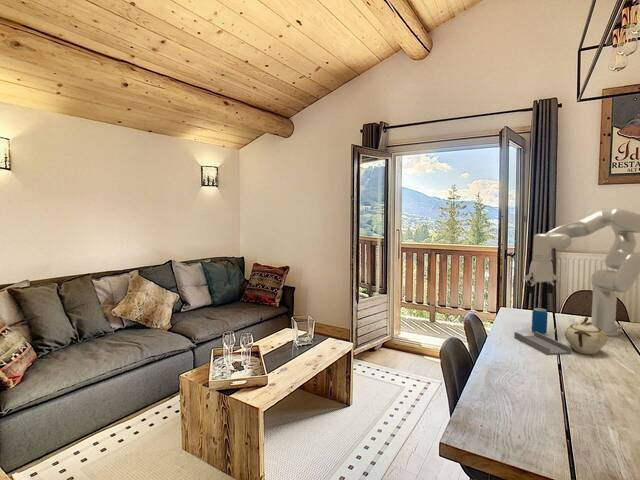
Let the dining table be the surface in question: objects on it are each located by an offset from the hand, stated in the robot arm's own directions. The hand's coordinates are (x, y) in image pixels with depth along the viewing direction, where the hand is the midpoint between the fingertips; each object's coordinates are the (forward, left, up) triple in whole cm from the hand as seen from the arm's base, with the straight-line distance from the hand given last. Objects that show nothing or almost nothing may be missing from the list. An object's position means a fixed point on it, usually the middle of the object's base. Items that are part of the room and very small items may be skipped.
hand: (540, 293), depth 184 cm
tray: (+11, +16, -20) cm, 28 cm away
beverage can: (0, 0, -20) cm, 20 cm away
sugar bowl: (-3, +24, -20) cm, 32 cm away
